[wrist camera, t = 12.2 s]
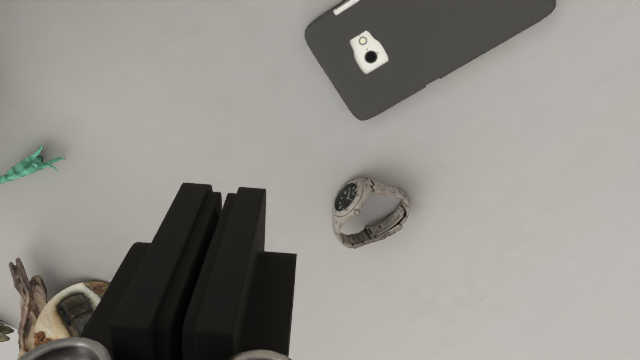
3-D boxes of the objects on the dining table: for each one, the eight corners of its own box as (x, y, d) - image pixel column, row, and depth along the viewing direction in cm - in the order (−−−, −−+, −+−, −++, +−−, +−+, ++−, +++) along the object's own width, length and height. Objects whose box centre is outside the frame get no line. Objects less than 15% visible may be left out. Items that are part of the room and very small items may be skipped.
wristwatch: (334, 237, 41) (317, 186, 38) (405, 210, 41) (393, 159, 39) (345, 262, 38) (327, 209, 35) (422, 234, 38) (409, 179, 36)
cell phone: (514, -110, 28) (509, -110, 29) (298, 32, 32) (299, 29, 33) (562, 10, 32) (556, 7, 32) (359, 127, 35) (358, 121, 36)
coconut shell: (72, 266, 43) (75, 297, 48) (9, 348, 38) (19, 374, 43) (158, 304, 44) (153, 331, 48) (107, 390, 38) (107, 412, 43)
